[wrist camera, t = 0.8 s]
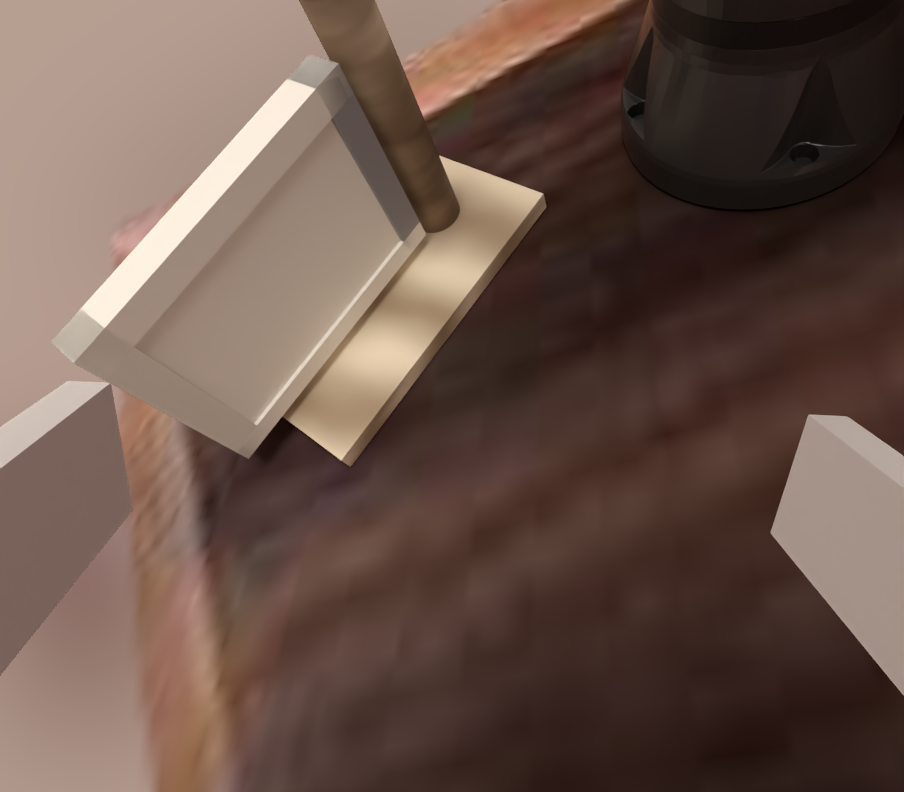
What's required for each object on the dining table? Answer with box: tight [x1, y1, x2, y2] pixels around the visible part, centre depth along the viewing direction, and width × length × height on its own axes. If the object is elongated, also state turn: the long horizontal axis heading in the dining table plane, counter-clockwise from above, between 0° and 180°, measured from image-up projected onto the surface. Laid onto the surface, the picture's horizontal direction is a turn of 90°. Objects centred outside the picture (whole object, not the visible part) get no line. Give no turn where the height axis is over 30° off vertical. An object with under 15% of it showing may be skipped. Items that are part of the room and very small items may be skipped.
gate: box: [51, 55, 426, 459], centre depth 31 cm, size 17×2×12 cm, turn 142°
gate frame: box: [282, 0, 546, 467], centre depth 33 cm, size 20×19×19 cm
